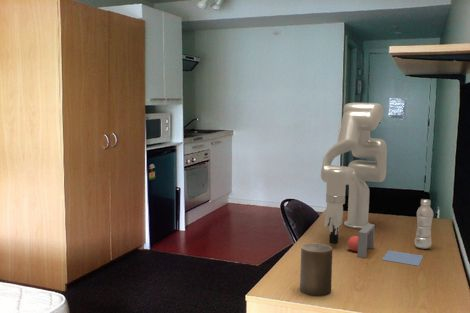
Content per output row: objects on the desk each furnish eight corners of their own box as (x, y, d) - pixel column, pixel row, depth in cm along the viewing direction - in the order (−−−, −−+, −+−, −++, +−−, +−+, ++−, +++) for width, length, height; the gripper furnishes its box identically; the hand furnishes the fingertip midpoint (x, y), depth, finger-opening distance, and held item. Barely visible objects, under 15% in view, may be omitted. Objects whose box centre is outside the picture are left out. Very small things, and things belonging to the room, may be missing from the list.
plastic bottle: (411, 248, 193) (414, 199, 191) (418, 244, 198) (421, 197, 196) (427, 251, 189) (430, 202, 187) (433, 248, 194) (437, 200, 192)
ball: (368, 241, 188) (360, 253, 189) (355, 232, 191) (347, 243, 192) (363, 243, 183) (355, 255, 184) (350, 233, 185) (342, 246, 187)
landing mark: (388, 250, 189) (388, 250, 189) (423, 256, 183) (423, 255, 183) (381, 260, 177) (381, 259, 177) (418, 266, 171) (418, 265, 171)
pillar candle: (336, 295, 144) (338, 246, 142) (305, 297, 142) (307, 248, 140) (323, 283, 153) (325, 238, 152) (295, 285, 151) (296, 239, 150)
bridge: (357, 256, 181) (358, 231, 180) (366, 246, 194) (367, 223, 193) (365, 258, 179) (366, 233, 178) (373, 247, 192) (374, 224, 191)
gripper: (331, 195, 199) (330, 237, 201) (320, 201, 186) (318, 246, 188) (349, 197, 195) (347, 240, 197) (339, 203, 182) (337, 249, 184)
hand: (333, 243), depth 192 cm, fingers closed
